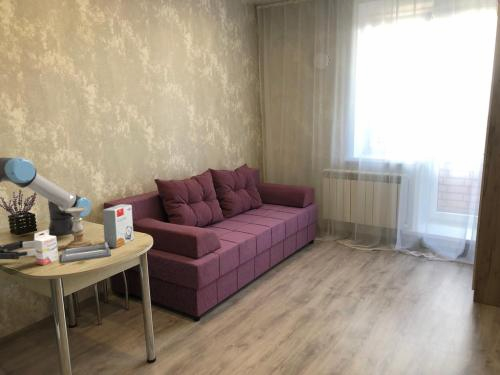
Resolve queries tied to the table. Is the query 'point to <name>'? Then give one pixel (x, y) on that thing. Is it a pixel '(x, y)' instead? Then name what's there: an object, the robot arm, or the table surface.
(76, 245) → the candle holder
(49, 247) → the ink cartridge box
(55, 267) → the table surface
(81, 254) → the rail cradle
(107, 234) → the hard drive box
